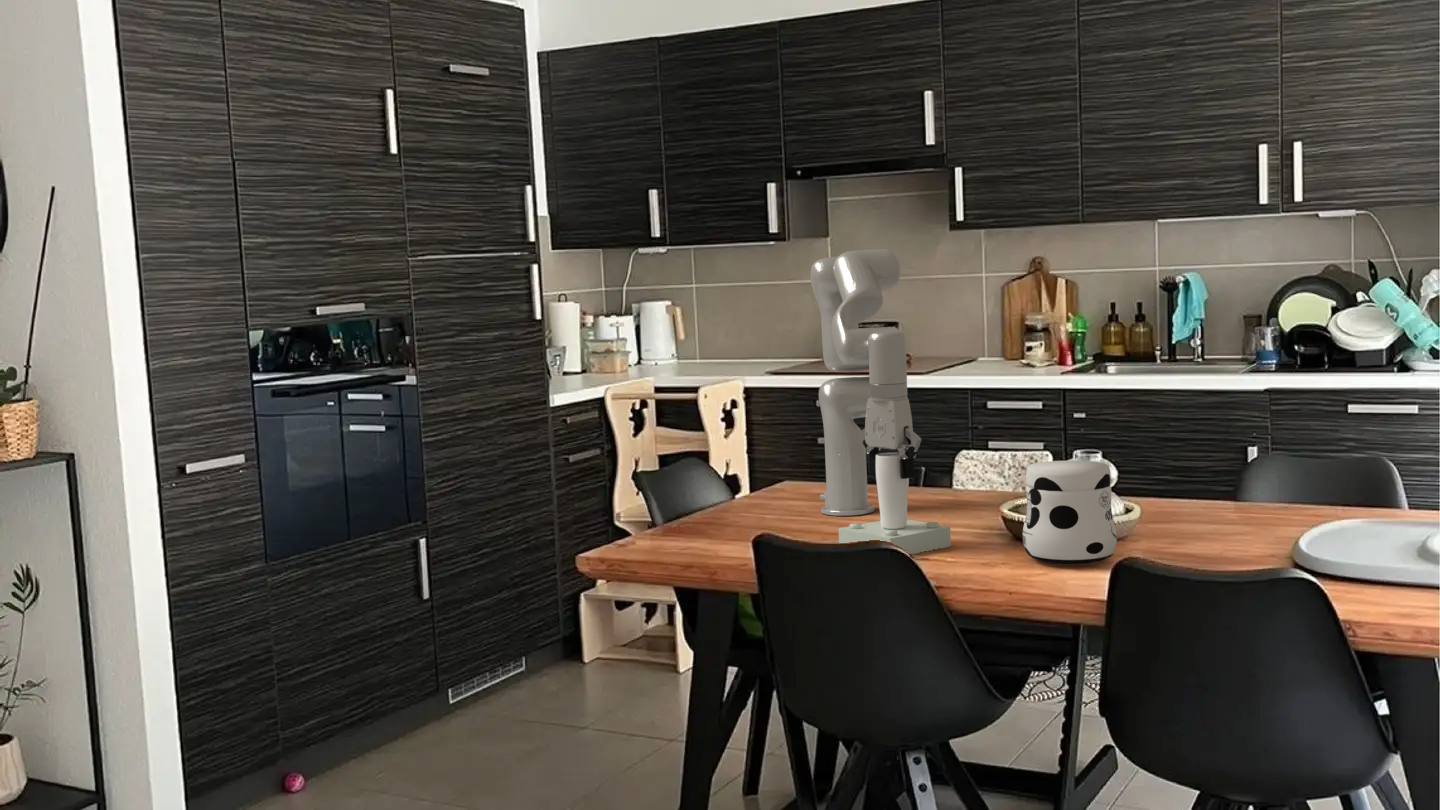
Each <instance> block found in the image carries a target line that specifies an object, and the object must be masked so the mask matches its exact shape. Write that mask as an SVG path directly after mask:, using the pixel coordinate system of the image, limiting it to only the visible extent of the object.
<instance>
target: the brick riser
mask: <svg viewBox="0 0 1440 810" xmlns="http://www.w3.org/2000/svg"><path fill="white" fill-rule="evenodd" d="M869 540H880V541H887V542H891V543H893V544H895V545H897V546H899V547H901V548H902V549H904V550H906V551H908V552H909V553H911V555H915V554H919V553H920V552H921V553H925V552H924V551H926V552H929V550H930V551H934V550H933V549H935V550H939V548H940V549H944V548H949V547H952V546H951V544H952V543H951V540H952V539H951V526H948V525H942V524H939V522H936V521H929V522H925V521H924V522H923V521H918V520H913V519H908V518H907V526H906V527H905V528H901V529H885V528H883V527H881V523H880V520H877V521H871V522H866V523H858V522H857V523H849V525H848V526H843V527H839V528H838V544H839V543H849V542H857V541H869Z"/></svg>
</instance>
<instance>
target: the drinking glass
mask: <svg viewBox="0 0 1440 810" xmlns="http://www.w3.org/2000/svg"><path fill="white" fill-rule="evenodd" d="M900 459H903V458H902V456H901V455H900V453H899V451H898V452H897V451H895V452H891V451H890V452H881V453H880V454H876V463H875V467H876V473H875V480H876V481H875V482H876V489H877V498H878V506H879V507H878V509H879V516H880V517H879V518H880V519H879V521H880V523H881V527H883V528H885V529H901V528H905V527H906V526H907V519H908V502H909V501H908V499H909V498H908V497H909V485H910V483H909V482H910V478H907V479H901V477H900Z"/></svg>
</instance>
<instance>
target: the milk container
mask: <svg viewBox="0 0 1440 810" xmlns="http://www.w3.org/2000/svg"><path fill="white" fill-rule="evenodd" d="M1025 472H1026V473H1025V483H1026V484H1025V485H1026V487H1025V496H1026V515H1025V520H1024V524H1023V527H1022V543H1023V546H1024V550H1025V552H1026V554H1027V555H1028V556H1029V557H1030V558H1032V559H1033V560H1036V561H1039V562H1043V563H1047V564H1048V563H1049V564H1055V565H1084V564H1093V563H1098V562H1101V561H1105V560H1106V559H1110V558H1111V557H1112V556H1113V555H1114V553H1115V551H1116V547H1117V542H1118V529H1117V527H1116V524H1115V523H1116V522H1115V520H1114V516H1113V512H1112V511H1113V510H1112V485H1111V482H1112V477H1111V476H1112V475H1111V468H1110V465H1109V464H1107V463H1104V462H1100V461H1099V462H1098V461H1093V460H1091V461H1090V460H1052V461H1051V460H1050V461H1043V462H1036V463H1032V464H1029V465H1027V467H1026V471H1025Z"/></svg>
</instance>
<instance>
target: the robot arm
mask: <svg viewBox="0 0 1440 810" xmlns="http://www.w3.org/2000/svg"><path fill="white" fill-rule="evenodd" d="M900 279H901V265H900V260H899V258H898V256H897V255H896V253H894V251H892V250H890V249H887V248H882V249H881V248H878V249H860V250H859V249H857V250H849V251H845V252H843V253H840V254H839V256H830V257H822V258H820V259H818V260H816V261H815V262H813V263H812V265H811V269H810V284H811V288H812V292H813V295H814V298H815V300H816V303H817V306H818V308H819V312H820V322H821V341H822V344H821V345H822V354H823V355H822V356H823V357H822V358H823V362H824V365H825V367H826V369H827V370H829V371H831V372H836V373H838V372H839V373H840V372H841V373H842V372H845V373H846V372H859V371H860V372H863V371H865V372H866V371H868V373H869V374H868V375H869V376H849V377H848V376H847V377H836V378H830V379H828V380H826V381H824V382H823V383H822V384H821V385H820V386H819V389H818V401H819V407H820V411H821V412H820V413H821V418H822V424H823V436H824V437H823V439H824V458H825V459H824V460H825V461H824V462H825V481H826V482H825V485H826V490H825V491H824V493H821V494H820V495H819V500H823V501H824V505H822V506H821V507H820V513H822V514H823V515H828V516H836V517H837V516H838V517H839V516H840V517H844V516H846V517H847V516H859V515H860V516H862V515H866V514H870V513H873V512H875V505H874V504H872V503H869V501H868V476H867V464H868V474H876V467H875V463H876V454H880V453H882V452H880V451H881V449H885V450H886V449H887V450H897V451H898V452H899V453H900V455H901V456H902V458H903V459H900V477H901V479H907V478H909V479H911V478H914V477H915V458H916V457H917V454H918V452H919V451H920V445H921V442H922V437H920V435H918V434H917V433H916V432H914V428H913V419H912V418H913V417H912V410H911V405H910V399H909V398H908V375H907V373H908V372H907V371H908V369H907V366H908V365H907V341H906V335H905V333H904V332H903V331H901V330H900V329H899V328H897V327H893V326H886V327H885V326H880V327H859V324H860V323H862V322H864V321H866V320H869V319H870V318H872V317H873V316H875V315H876V314H877V313H878V312H879V311H880V310H881V308H882V306H883V303H884V296H883V292H884V291H887V290H890V289H893V288H895V287H896V286H897V285H898V283H899V281H900ZM859 418H860V419H861V418H865V419H864V420H865V421H864V423H865V424H864V428H862V429H861V428H860V427H859V426H858V425H857V423H855V421H854V419H859ZM905 449H906V450H905ZM867 462H868V463H867Z"/></svg>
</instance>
